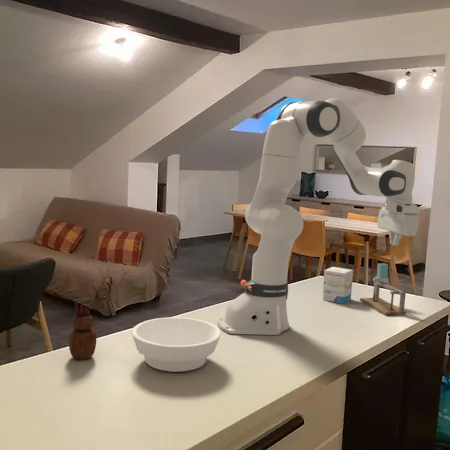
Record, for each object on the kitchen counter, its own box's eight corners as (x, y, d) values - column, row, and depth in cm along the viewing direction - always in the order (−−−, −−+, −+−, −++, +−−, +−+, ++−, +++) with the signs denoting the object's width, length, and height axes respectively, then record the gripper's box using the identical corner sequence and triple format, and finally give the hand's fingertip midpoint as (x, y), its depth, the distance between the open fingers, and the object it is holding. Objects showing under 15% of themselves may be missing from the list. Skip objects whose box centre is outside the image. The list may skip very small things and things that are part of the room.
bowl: (123, 350, 144) (124, 320, 143) (203, 343, 152) (204, 314, 151) (141, 385, 123) (142, 350, 122) (232, 375, 131) (234, 342, 130)
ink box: (351, 299, 206) (354, 269, 204) (343, 304, 199) (346, 273, 197) (330, 295, 210) (332, 265, 209) (321, 299, 203) (324, 269, 202)
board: (385, 315, 186) (387, 293, 185) (359, 301, 204) (361, 280, 203) (405, 315, 188) (407, 292, 187) (378, 300, 206) (380, 280, 205)
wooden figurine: (68, 362, 134) (68, 304, 132) (68, 354, 140) (69, 297, 138) (96, 361, 136) (97, 303, 134) (95, 352, 141) (96, 296, 139)
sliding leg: (374, 300, 200) (377, 264, 198) (370, 298, 203) (373, 263, 201) (386, 299, 201) (389, 264, 199) (382, 297, 204) (385, 263, 202)
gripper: (375, 202, 200) (371, 239, 202) (406, 209, 181) (402, 249, 183) (390, 203, 202) (386, 240, 204) (423, 209, 182) (418, 250, 184)
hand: (394, 244), depth 193 cm, fingers closed
